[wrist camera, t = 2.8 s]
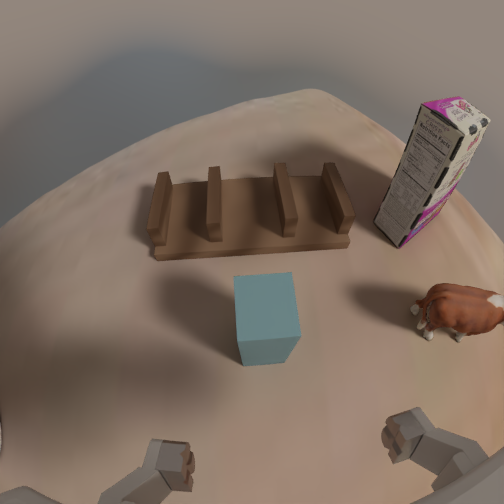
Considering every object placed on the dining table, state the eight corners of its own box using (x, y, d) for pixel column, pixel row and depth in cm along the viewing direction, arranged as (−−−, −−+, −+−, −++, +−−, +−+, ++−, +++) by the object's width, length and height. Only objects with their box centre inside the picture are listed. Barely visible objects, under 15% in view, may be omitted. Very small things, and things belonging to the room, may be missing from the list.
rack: (157, 260, 28) (144, 237, 24) (167, 192, 33) (159, 167, 29) (347, 248, 28) (358, 223, 25) (325, 182, 34) (331, 157, 30)
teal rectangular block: (243, 366, 22) (237, 341, 14) (240, 322, 24) (233, 276, 16) (284, 362, 22) (301, 335, 14) (279, 319, 24) (291, 272, 17)
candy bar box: (414, 190, 34) (458, 94, 20) (438, 214, 31) (493, 120, 17) (368, 221, 30) (420, 99, 16) (397, 251, 28) (468, 134, 14)
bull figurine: (485, 356, 20) (534, 331, 14) (396, 336, 23) (443, 303, 16) (486, 321, 23) (530, 291, 16) (400, 296, 25) (442, 254, 18)
